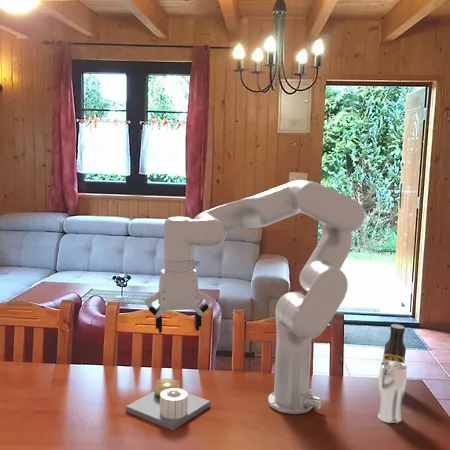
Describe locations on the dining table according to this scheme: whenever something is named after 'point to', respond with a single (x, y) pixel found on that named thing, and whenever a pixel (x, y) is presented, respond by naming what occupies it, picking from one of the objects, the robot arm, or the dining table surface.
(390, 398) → the beer glass
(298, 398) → the robot arm
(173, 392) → the pin
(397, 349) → the sauce bottle
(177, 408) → the ring
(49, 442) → the dining table surface
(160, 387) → the brass disc
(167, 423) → the board
